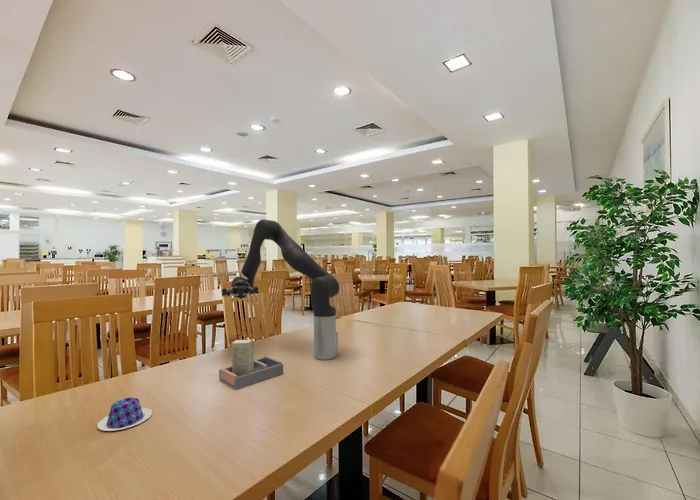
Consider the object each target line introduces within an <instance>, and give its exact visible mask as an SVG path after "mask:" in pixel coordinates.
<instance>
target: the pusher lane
mask: <svg viewBox="0 0 700 500" xmlns="http://www.w3.org/2000/svg"><path fill="white" fill-rule="evenodd" d="M255 360H257V361H259V362H262V363H264V364H267V368H265V369H262V370H258V371H254V372H252V373H249V374H245V375H242V376H239V377H237V375H235V374H234V373H233V371H232V365H231V366H228V367H223V368H220V369H219V370H218V374H219V377H218V380H219V381H221V382H222V383H224V384H225V385H228V386H229V387H230V388H232V389H234V390H239V389H243V388H245V387H248V386H252V385H254V384H257V383H260V382H264V381H265V380H269V379H271V378H275V377H277V376H281V375H284V364H283V363H282V361H280V360H277V359H275V358H272V357H269V356H263V357H261V358H256V359H255Z"/></svg>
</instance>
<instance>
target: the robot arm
mask: <svg viewBox="0 0 700 500" xmlns="http://www.w3.org/2000/svg"><path fill="white" fill-rule="evenodd" d="M265 240H267V241H268V240H269V241H273V242H274V243H275V244H276V245H277V246H279V248H280V251H281V252H280V253H281V256H282V258H283V260H284V261H285V262H286V264H288V265H289V266H290V268H292V269H293V270H294V271H296V272H298V273H300V274H302V275H304V276H306V277H308V278H309V279H310V280H312V281H311V283H310V302H311V309H312V311H313V346H314V347H313V349H314V353H313V356H314V358H315V359H317V360H322V361H323V360H325V361H326V360H327V361H328V360H332V359H334V358H336V357H337V356H339V332H338V331H337V310H336V307H334V306H332V305H331V303H330V298H333V297H336V296H337V295H338V294H339V293H340V284H339V281H338V279H336V277H334V276H333V275H332V274H331V273H329V272H328V271H326V270H325V269H324V267H322V266H320V264H319V263H318V262H317V261H315V260H314V258H312V257H311V256H310V255H309V253H307V251H305V249H303V248H302V246H300V245H299V244H298V243H297V242H296V241H295V240H294V239H293V238H292V237H290V236H289V234H288V233H287V232H286V230H285V229H284V228H283V227H282V226H281V224H280V223H278V221H276V220H271V219H259V220H258V221H257V223H256V224H255V227H254V229H253V234H252V238H251V241H250V246H249V249H248V253H247V256H246V259H245V261H244V263H243V266H242V267H241V271H240V272H241V274H242V275H243V276H244V277H242V276H236V277H234V278H233V279H232V281H231V287H229V288H228V287H224V288H222V289H221V295H222V297H225V296H227V297H230V296H231V297H233V296H234V297H235V298H237V299H244V298H247V297H248V296H252V295H254V294H256V295H258V294H259V287H258V286H255V278H256V275H257V272H258V270H259V268H260V265H261V264H262V263H261V261H262V256H261V247H262V245H263V243H264V241H265ZM245 277H246V278H245Z"/></svg>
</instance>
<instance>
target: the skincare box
mask: <svg viewBox="0 0 700 500" xmlns="http://www.w3.org/2000/svg"><path fill="white" fill-rule="evenodd" d="M230 346H231V347H230V348H231V349H230V350H231V362H232V363H231V366H232V371H233V373H234V374H235V375H237V377H239V376H242V375H245V374H249V373H252V372H254V359H255V358H254V340H253V339H236V340H234V341H233V342H231V343H230Z"/></svg>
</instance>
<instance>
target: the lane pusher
mask: <svg viewBox="0 0 700 500" xmlns="http://www.w3.org/2000/svg"><path fill="white" fill-rule="evenodd" d="M265 368H267V364H264V363H262V362H259V361H257V360H256V359H255V358H254V371H258V370H262V369H265Z"/></svg>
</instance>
